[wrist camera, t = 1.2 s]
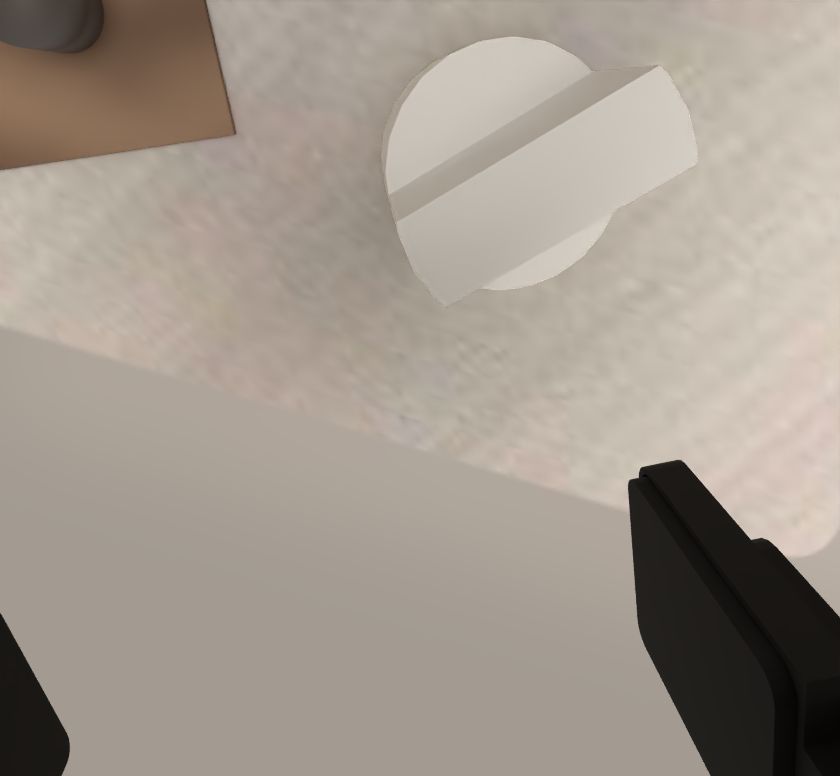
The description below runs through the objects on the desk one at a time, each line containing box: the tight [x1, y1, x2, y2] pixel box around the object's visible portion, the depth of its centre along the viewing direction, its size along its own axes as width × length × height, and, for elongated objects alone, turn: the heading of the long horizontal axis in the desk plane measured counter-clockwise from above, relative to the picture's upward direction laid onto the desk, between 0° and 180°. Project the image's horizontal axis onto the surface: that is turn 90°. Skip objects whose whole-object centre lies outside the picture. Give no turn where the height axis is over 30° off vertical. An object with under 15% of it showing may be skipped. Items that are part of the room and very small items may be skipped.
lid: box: [0, 0, 236, 170], centre depth 26 cm, size 11×11×5 cm
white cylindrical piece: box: [381, 36, 698, 308], centre depth 26 cm, size 9×9×12 cm
